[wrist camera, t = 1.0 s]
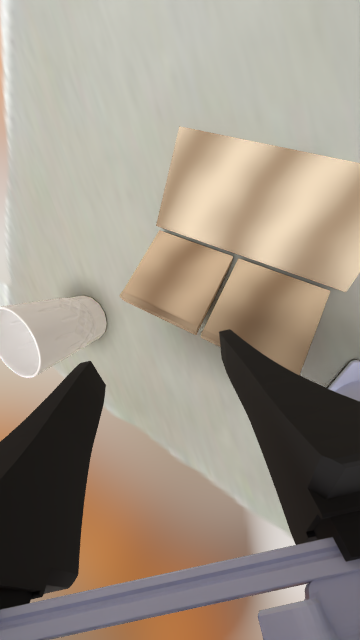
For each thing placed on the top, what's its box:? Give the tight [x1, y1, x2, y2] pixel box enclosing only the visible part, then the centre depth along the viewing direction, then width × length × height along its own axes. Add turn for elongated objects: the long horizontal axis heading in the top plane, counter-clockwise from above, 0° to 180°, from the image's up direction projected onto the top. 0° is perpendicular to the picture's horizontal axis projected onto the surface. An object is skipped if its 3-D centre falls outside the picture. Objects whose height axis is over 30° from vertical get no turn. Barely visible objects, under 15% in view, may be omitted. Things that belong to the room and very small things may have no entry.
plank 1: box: [120, 230, 233, 335], centre depth 18 cm, size 8×8×1 cm
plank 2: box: [201, 258, 330, 376], centre depth 17 cm, size 8×8×1 cm
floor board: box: [156, 127, 360, 292], centre depth 16 cm, size 18×8×1 cm, turn 72°
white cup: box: [0, 296, 107, 378], centre depth 24 cm, size 8×8×10 cm
